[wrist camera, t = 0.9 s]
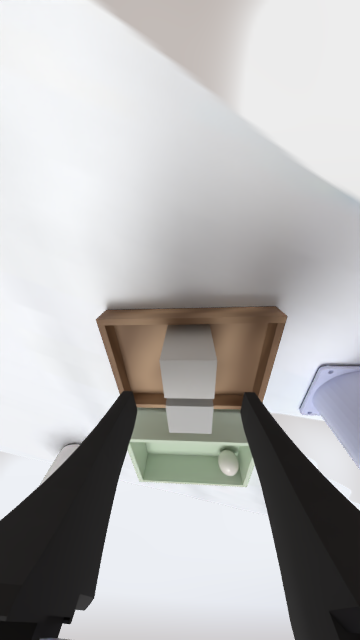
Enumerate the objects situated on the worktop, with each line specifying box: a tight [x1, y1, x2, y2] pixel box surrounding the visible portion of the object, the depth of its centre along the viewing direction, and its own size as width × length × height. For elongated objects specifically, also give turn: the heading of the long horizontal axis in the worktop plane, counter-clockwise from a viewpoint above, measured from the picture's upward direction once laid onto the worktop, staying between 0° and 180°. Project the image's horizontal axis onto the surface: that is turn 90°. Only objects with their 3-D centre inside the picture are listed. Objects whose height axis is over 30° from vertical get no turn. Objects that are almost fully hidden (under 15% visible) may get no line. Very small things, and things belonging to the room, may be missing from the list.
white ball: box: [218, 450, 239, 476], centre depth 25 cm, size 3×3×3 cm
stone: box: [166, 398, 214, 434], centre depth 17 cm, size 4×4×5 cm
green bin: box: [127, 407, 255, 487], centre depth 24 cm, size 16×12×4 cm
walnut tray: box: [96, 306, 287, 409], centre depth 17 cm, size 16×12×2 cm
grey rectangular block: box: [159, 324, 217, 399], centre depth 15 cm, size 4×4×5 cm
